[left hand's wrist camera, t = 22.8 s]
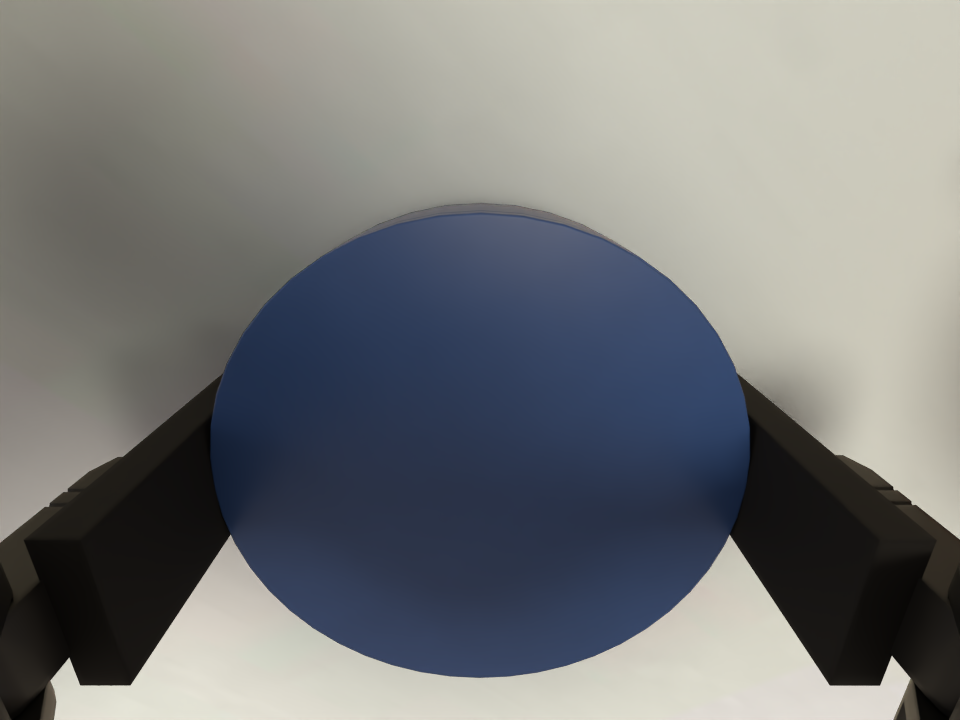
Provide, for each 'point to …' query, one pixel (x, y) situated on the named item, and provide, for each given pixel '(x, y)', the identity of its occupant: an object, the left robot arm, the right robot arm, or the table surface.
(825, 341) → the table surface
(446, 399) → the lid
